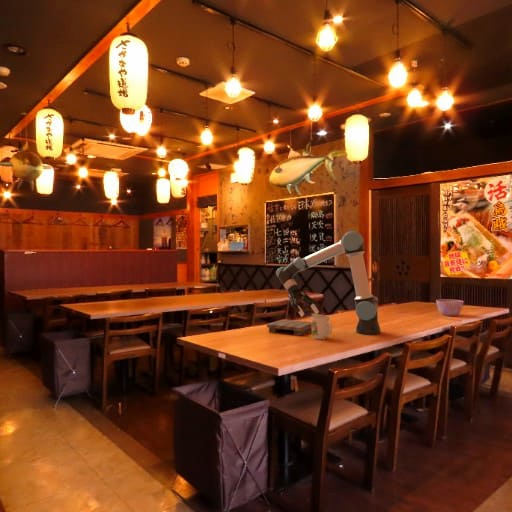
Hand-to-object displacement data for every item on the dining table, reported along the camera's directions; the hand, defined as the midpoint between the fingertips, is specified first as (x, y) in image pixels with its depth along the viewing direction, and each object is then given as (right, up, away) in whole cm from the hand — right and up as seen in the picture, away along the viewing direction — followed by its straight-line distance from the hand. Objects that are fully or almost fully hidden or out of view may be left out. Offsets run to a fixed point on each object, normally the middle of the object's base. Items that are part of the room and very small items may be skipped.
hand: (310, 314), depth 260 cm
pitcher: (+6, -14, -5) cm, 16 cm away
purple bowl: (+119, -11, +76) cm, 141 cm away
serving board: (-10, -13, +18) cm, 24 cm away
